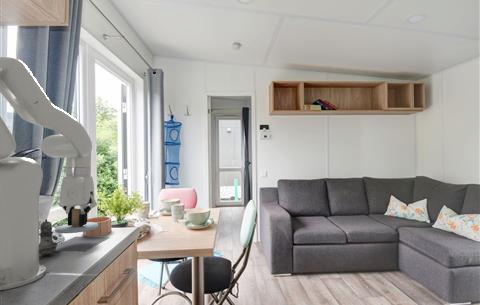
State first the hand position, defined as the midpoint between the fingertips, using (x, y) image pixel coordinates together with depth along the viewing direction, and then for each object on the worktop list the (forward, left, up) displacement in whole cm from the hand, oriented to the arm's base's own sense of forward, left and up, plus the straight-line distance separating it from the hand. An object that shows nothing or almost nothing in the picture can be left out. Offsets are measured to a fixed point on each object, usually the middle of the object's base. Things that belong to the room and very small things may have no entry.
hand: (77, 224), depth 93 cm
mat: (+1, 0, -8) cm, 8 cm away
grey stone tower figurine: (-10, +3, -8) cm, 13 cm away
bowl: (+14, +2, -8) cm, 16 cm away
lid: (0, 0, -1) cm, 1 cm away
